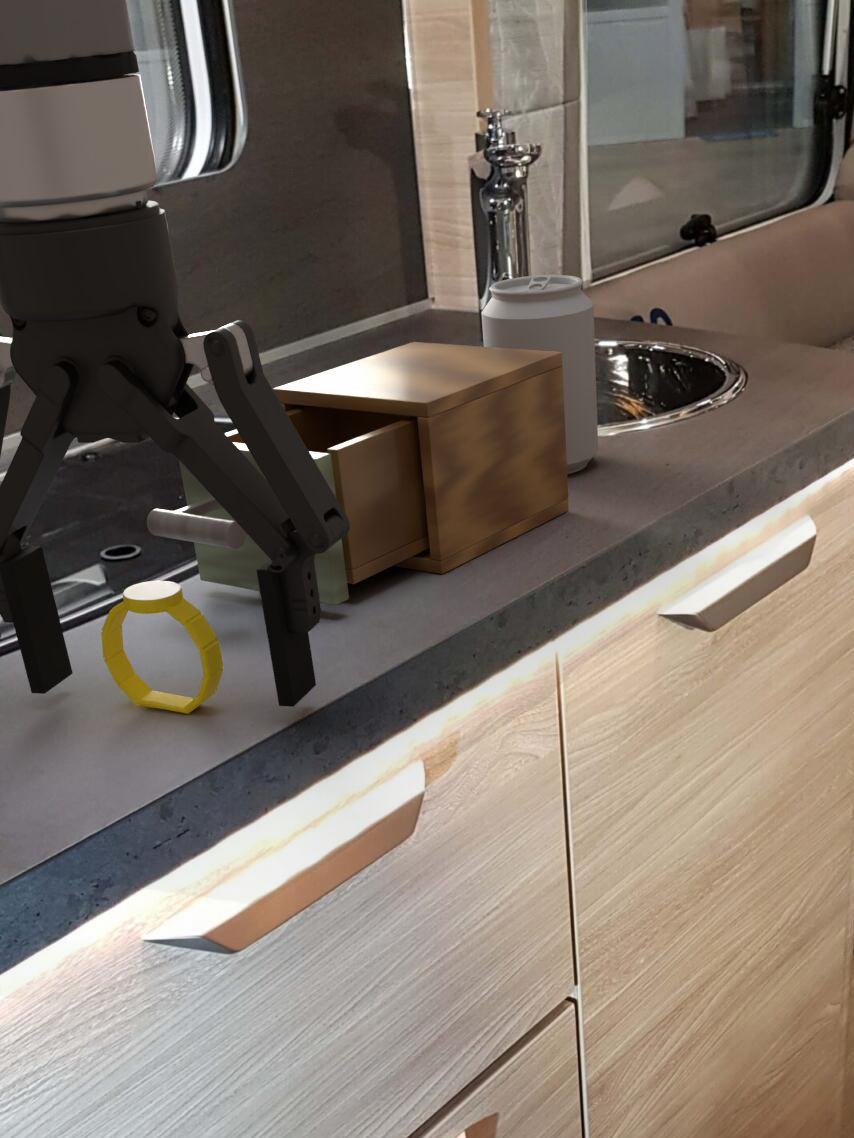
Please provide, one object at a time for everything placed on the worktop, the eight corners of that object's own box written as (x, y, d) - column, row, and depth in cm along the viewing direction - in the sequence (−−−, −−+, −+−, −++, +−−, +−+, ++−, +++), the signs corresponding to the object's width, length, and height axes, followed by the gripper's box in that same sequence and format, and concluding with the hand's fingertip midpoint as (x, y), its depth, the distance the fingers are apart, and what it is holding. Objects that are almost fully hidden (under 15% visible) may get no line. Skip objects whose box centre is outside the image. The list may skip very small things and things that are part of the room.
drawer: (273, 636, 81) (249, 485, 77) (136, 608, 87) (106, 465, 82) (469, 540, 93) (458, 404, 88) (338, 520, 98) (322, 391, 94)
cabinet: (442, 574, 91) (426, 402, 85) (295, 550, 97) (271, 388, 91) (569, 510, 99) (562, 351, 94) (427, 492, 105) (413, 341, 100)
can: (478, 480, 107) (464, 291, 100) (510, 451, 113) (498, 271, 106) (583, 481, 105) (576, 289, 98) (609, 452, 111) (604, 268, 104)
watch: (105, 712, 76) (79, 594, 73) (136, 691, 79) (111, 576, 75) (209, 723, 74) (187, 602, 71) (238, 701, 77) (217, 583, 73)
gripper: (382, 177, 63) (435, 670, 75) (-123, 206, 71) (-3, 651, 82) (309, 202, 57) (379, 733, 69) (-233, 231, 65) (-87, 707, 77)
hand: (172, 690), depth 76 cm, fingers open, 13 cm apart
